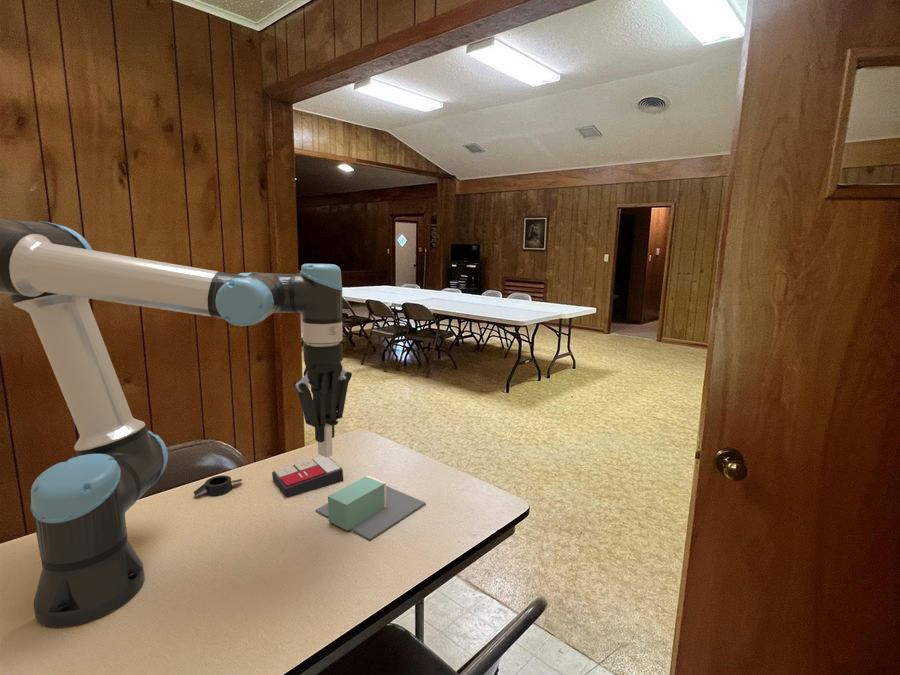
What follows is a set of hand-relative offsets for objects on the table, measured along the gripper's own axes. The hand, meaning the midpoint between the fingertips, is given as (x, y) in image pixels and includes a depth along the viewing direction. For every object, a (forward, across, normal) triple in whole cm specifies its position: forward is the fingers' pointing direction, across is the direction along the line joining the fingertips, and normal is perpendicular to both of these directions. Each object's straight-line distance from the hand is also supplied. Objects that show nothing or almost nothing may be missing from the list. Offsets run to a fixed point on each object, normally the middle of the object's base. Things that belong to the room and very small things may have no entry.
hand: (325, 454), depth 96 cm
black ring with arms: (+19, -5, +35) cm, 40 cm away
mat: (+18, +12, 0) cm, 22 cm away
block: (+14, +2, 0) cm, 14 cm away
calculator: (+19, +12, +22) cm, 31 cm away
